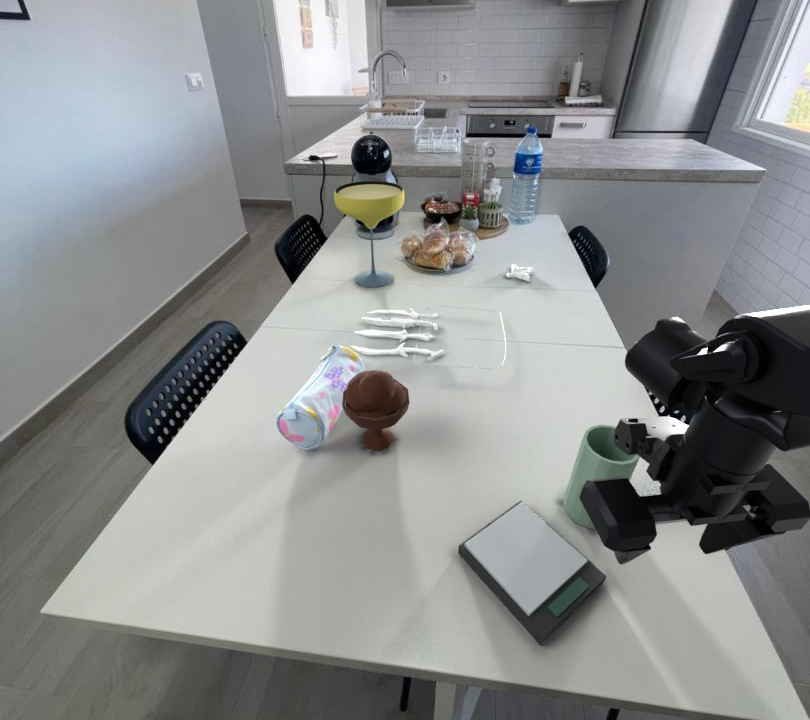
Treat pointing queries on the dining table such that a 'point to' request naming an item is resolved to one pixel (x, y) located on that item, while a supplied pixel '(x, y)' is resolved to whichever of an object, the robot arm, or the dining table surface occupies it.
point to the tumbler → (595, 468)
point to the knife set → (405, 334)
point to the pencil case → (319, 399)
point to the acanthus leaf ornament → (520, 272)
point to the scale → (531, 569)
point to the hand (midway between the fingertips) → (661, 554)
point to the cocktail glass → (370, 215)
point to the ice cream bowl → (375, 406)
